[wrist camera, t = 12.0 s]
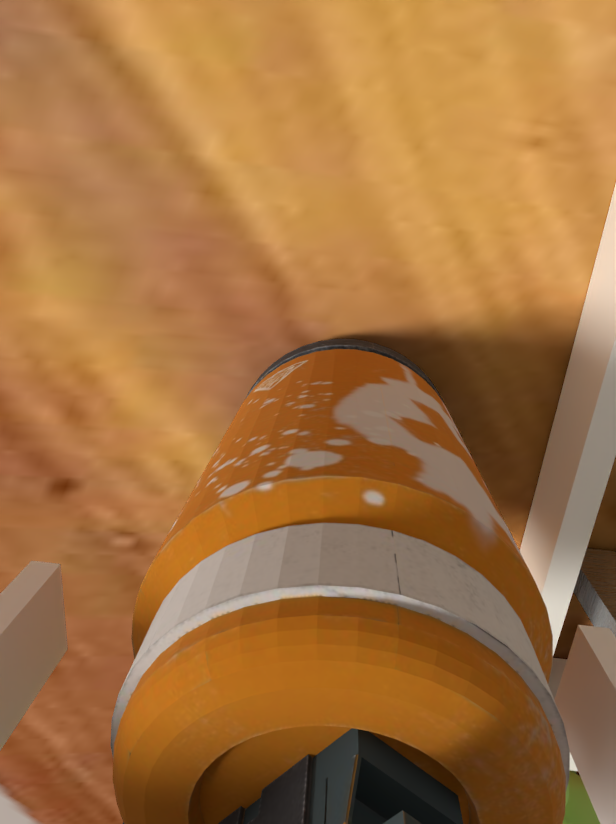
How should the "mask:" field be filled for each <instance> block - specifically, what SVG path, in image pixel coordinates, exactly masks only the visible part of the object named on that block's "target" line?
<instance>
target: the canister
mask: <svg viewBox="0 0 616 824" xmlns="http://www.w3.org/2000/svg"><path fill="white" fill-rule="evenodd" d="M132 645H133V652H134V662H133V664H132V667H131V669H130V671H129V673H128V675H127V677H126V679H125V682H124V684H123V686H122V688H121V690H120V692H119V695H118V699H117V702H116V706H115V710H114V713H113V717H112V727H111V749H112V755H113V783H114V789H115V795H116V801H117V805H118V808H119V811H120V814H121V817H122V819H123V824H563V820H564V816H565V803H566V790H567V786H568V781H569V771H570V750H569V745H568V740H567V736H566V731H565V727H564V723H563V720H562V718H561V715H560V713H559V710H558V708H557V705H556V703H555V700H554V698H553V696H552V693H551V691H550V688H549V686H548V683H549V678H550V674H551V669H552V664H553V635H552V630H551V626H550V621H549V616H548V611H547V608H546V605H545V603H544V601H543V598H542V596H541V594H540V591H539V589H538V587H537V585H536V582H535V580H534V578H533V576H532V574H531V572H530V570H529V568H528V567H527V565H526V563H525V561H524V559H523V557H522V555H521V553H520V551H519V549H518V547H517V545H516V543H515V541H514V539H513V537H512V535H511V533H510V531H509V529H508V527H507V525H506V523H505V521H504V520H503V518H502V516H501V514H500V512H499V510H498V508H497V506H496V504H495V502H494V500H493V498H492V496H491V494H490V492H489V490H488V488H487V486H486V484H485V482H484V480H483V478H482V476H481V475H480V473H479V471H478V469H477V467H476V465H475V463H474V461H473V459H472V457H471V455H470V453H469V451H468V449H467V447H466V445H465V443H464V441H463V439H462V437H461V435H460V433H459V431H458V429H457V428H456V426H455V424H454V422H453V420H452V418H451V416H450V414H449V412H448V410H447V408H446V406H445V404H444V402H443V400H442V398H441V396H440V394H439V392H438V391H437V389H436V388H435V386H434V385H433V383H432V382H431V380H430V379H429V378H428V377H427V376H426V375H425V374H424V373H423V372H422V370H421V369H420V368H419V367H418V366H416V365H415V364H414V363H412V362H411V361H410V360H408V359H407V358H406V357H404V356H403V355H401V354H399V353H397V352H395V351H393V350H391V349H390V348H387V347H384V346H381V345H378V344H375V343H372V342H367V341H362V340H356V339H332V340H325V341H318V342H315V343H312V344H308V345H305V346H302V347H300V348H298V349H296V350H294V351H291V352H289V353H287V354H286V355H284V356H283V357H281V358H280V359H279V360H277V361H276V362H274V363H273V364H272V365H271V366H270V367H269V368H268V369H267V370H266V371H265V372H264V373H263V374H262V375H261V376H260V377H259V378H258V380H257V381H256V383H255V384H254V385H253V387H252V388H251V390H250V391H249V393H248V395H247V397H246V399H245V400H244V402H243V404H242V406H241V407H240V409H239V411H238V413H237V414H236V416H235V418H234V420H233V421H232V423H231V425H230V427H229V428H228V430H227V432H226V434H225V435H224V437H223V439H222V441H221V442H220V444H219V446H218V448H217V449H216V451H215V453H214V455H213V456H212V458H211V460H210V462H209V463H208V465H207V467H206V469H205V470H204V472H203V474H202V476H201V478H200V479H199V481H198V483H197V485H196V486H195V488H194V490H193V492H192V493H191V495H190V497H189V499H188V500H187V502H186V504H185V506H184V507H183V509H182V511H181V513H180V514H179V516H178V518H177V520H176V521H175V523H174V525H173V527H172V528H171V530H170V532H169V534H168V535H167V537H166V539H165V541H164V542H163V544H162V546H161V548H160V550H159V551H158V553H157V555H156V557H155V558H154V560H153V562H152V564H151V566H150V568H149V570H148V572H147V574H146V576H145V578H144V580H143V582H142V584H141V586H140V589H139V592H138V596H137V600H136V604H135V607H134V611H133V623H132Z"/></svg>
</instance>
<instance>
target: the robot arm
mask: <svg viewBox="0 0 616 824" xmlns="http://www.w3.org/2000/svg"><path fill="white" fill-rule="evenodd" d="M67 649H68V646H67V635H66V623H65V611H64V599H63V587H62V576H61V564H55V563H46V562H38V561H31V562H30V563H29V564H28V565H27V566H26V567H25V568H24V569H23V570H22V571H21V572H20V573H19V575H18V576H17V577H16V578H15V579H14V580H13V581H12V582H11V583H10V584H9V585H8V586H7V587H6V588H5V589H4V590H3V592H2V593H1V594H0V750H1V749H2V747H3V746H4V744H5V743H6V741H7V740H8V738H9V737H10V735H11V734H12V732H13V731H14V729H15V728H16V726H17V725H18V723H19V722H20V720H21V719H22V717H23V716H24V714H25V713H26V711H27V710H28V708H29V707H30V705H31V704H32V702H33V701H34V699H35V698H36V696H37V694H38V693H39V691H40V690H41V688H42V687H43V685H44V684H45V682H46V681H47V679H48V678H49V676H50V675H51V673H52V672H53V670H54V669H55V667H56V666H57V664H58V663H59V661H60V660H61V658H62V657H63V655H64V654H65V652H66V651H67ZM555 703H556V705H557V708H558V710H559V713H560V715H561V718H562V720H563V723H564V727H565V731H566V736H567V740H568V745H569V750H570V753H571V755H572V758H573V760H574V762H575V765H576V767H577V770H578V772H579V774H580V777H581V779H582V781H583V784H584V786H585V789H586V791H587V793H588V796H589V798H590V800H591V803H592V805H593V808H594V810H595V812H596V815H597V817H598V819H599V822H600V824H616V637H615V636H614V634H613V633H612V631H611V630H610V628H603V627H594V626H586V625H578V627H577V630H576V633H575V636H574V640H573V643H572V646H571V649H570V652H569V655H568V659H567V662H566V665H565V668H564V671H563V675H562V678H561V681H560V684H559V687H558V690H557V694H556V697H555Z"/></svg>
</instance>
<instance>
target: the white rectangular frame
mask: <svg viewBox="0 0 616 824" xmlns="http://www.w3.org/2000/svg"><path fill="white" fill-rule="evenodd" d="M615 457H616V184H615V188H614V192H613V196H612V200H611V204H610V207H609V211H608V215H607V219H606V223H605V226H604V230H603V234H602V238H601V242H600V246H599V249H598V253H597V257H596V261H595V265H594V269H593V272H592V276H591V280H590V284H589V288H588V291H587V295H586V299H585V303H584V307H583V311H582V314H581V318H580V322H579V326H578V330H577V334H576V337H575V341H574V345H573V349H572V353H571V356H570V360H569V364H568V368H567V372H566V376H565V379H564V383H563V387H562V391H561V395H560V399H559V402H558V406H557V410H556V414H555V418H554V421H553V425H552V429H551V433H550V437H549V441H548V444H547V448H546V452H545V456H544V460H543V464H542V467H541V471H540V475H539V479H538V483H537V487H536V490H535V494H534V498H533V502H532V506H531V509H530V513H529V517H528V521H527V525H526V529H525V532H524V536H523V540H522V544H521V548H520V553H521V555H522V557H523V559H524V561H525V563H526V565H527V567H528V568H529V570H530V572H531V574H532V576H533V578H534V580H535V582H536V585H537V587H538V589H539V591H540V594H541V596H542V598H543V601H544V603H545V605H546V608H547V611H548V616H549V621H550V626H551V630H552V635H553V655H554V652H555V648H556V645H557V642H558V639H559V636H560V632H561V629H562V626H563V623H564V620H565V616H566V613H567V610H568V607H569V604H570V600H571V597H572V594H573V591H574V588H575V584H576V581H577V578H578V575H579V572H580V568H581V565H582V562H583V559H584V556H585V552H586V549H587V546H588V543H589V540H590V536H591V533H592V530H593V527H594V524H595V520H596V517H597V514H598V511H599V508H600V504H601V501H602V498H603V495H604V492H605V488H606V485H607V482H608V479H609V476H610V472H611V469H612V466H613V463H614V460H615ZM566 662H567V659H560V658H553V664H552V669H551V674H550V678H549V683H548V686H549V688H550V691H551V693H552V696H553V698H554V700H555V697H556V694H557V690H558V687H559V684H560V681H561V678H562V675H563V671H564V668H565V665H566ZM570 770H572V771H578V770H577V767H576V765H575V762H574V760H573V758H572V755H571V753H570Z"/></svg>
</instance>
